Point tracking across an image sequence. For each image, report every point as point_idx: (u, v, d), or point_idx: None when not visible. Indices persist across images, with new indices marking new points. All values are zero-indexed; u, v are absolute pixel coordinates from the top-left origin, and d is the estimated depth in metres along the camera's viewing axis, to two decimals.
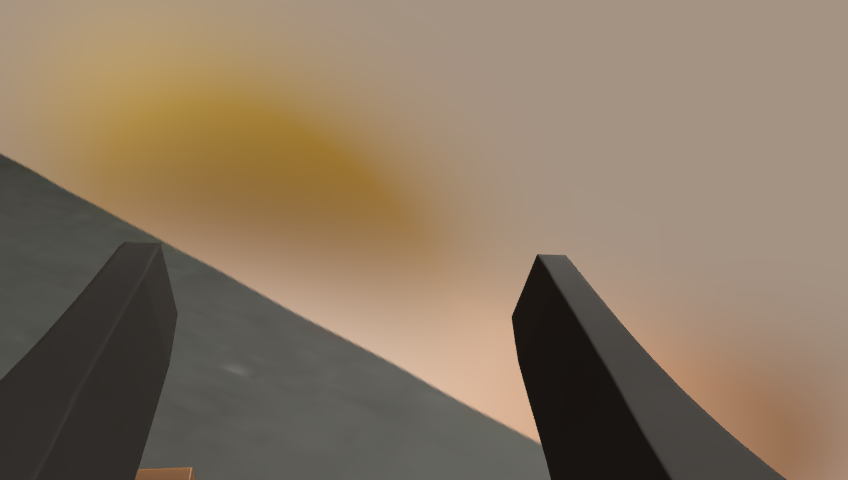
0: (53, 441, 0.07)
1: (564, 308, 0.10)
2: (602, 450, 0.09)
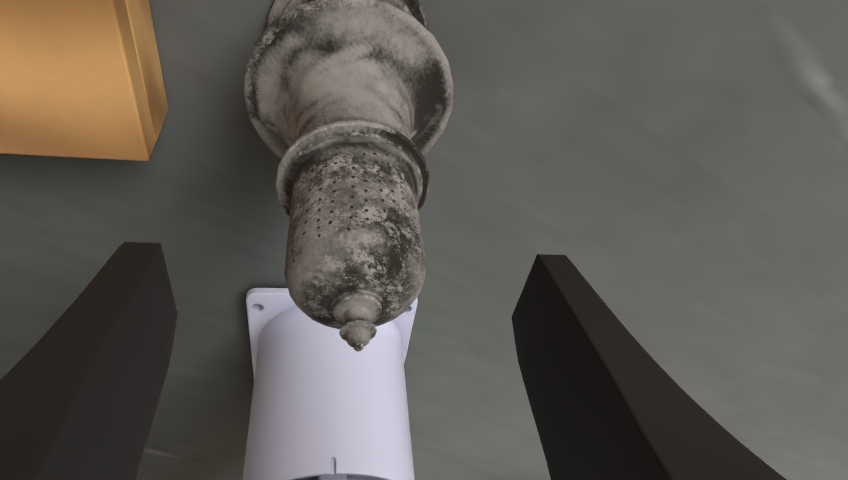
0: (53, 441, 0.07)
1: (563, 308, 0.10)
2: (602, 450, 0.09)
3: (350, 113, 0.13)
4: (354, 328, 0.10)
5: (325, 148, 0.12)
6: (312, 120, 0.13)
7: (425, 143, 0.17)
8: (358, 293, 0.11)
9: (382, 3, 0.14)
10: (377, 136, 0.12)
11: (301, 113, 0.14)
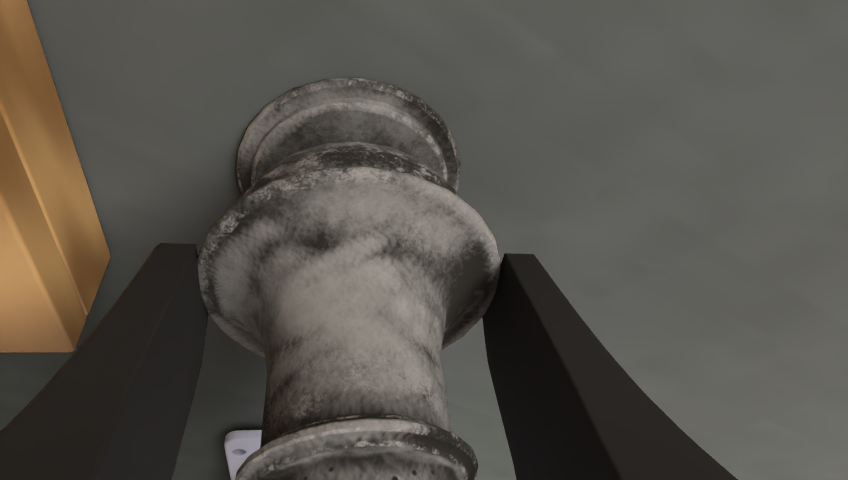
0: (107, 439, 0.07)
1: (528, 308, 0.10)
2: (562, 451, 0.09)
3: (353, 381, 0.08)
4: None
5: (312, 464, 0.07)
6: (292, 383, 0.08)
7: (457, 331, 0.12)
8: None
9: (402, 176, 0.09)
10: (399, 443, 0.07)
11: (278, 350, 0.09)
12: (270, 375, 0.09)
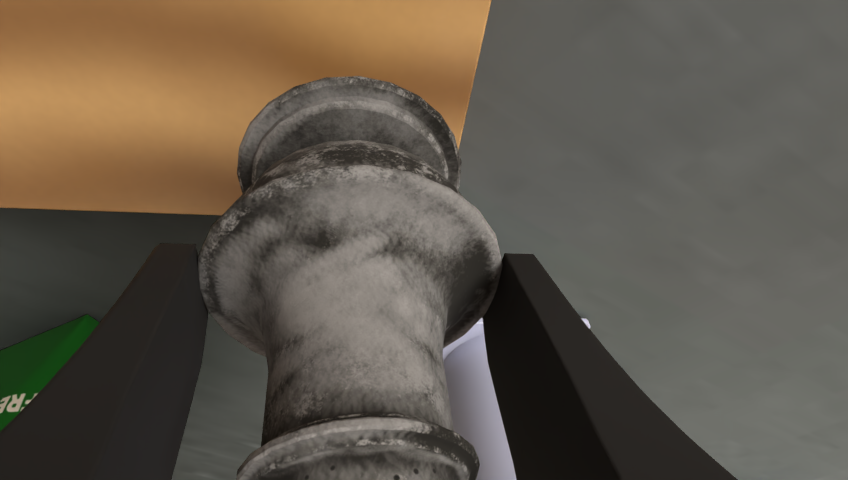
0: (107, 439, 0.07)
1: (528, 307, 0.10)
2: (561, 451, 0.09)
3: (354, 380, 0.08)
4: None
5: (314, 463, 0.07)
6: (293, 382, 0.08)
7: (458, 330, 0.12)
8: None
9: (403, 174, 0.09)
10: (400, 442, 0.07)
11: (279, 348, 0.09)
12: (271, 374, 0.09)
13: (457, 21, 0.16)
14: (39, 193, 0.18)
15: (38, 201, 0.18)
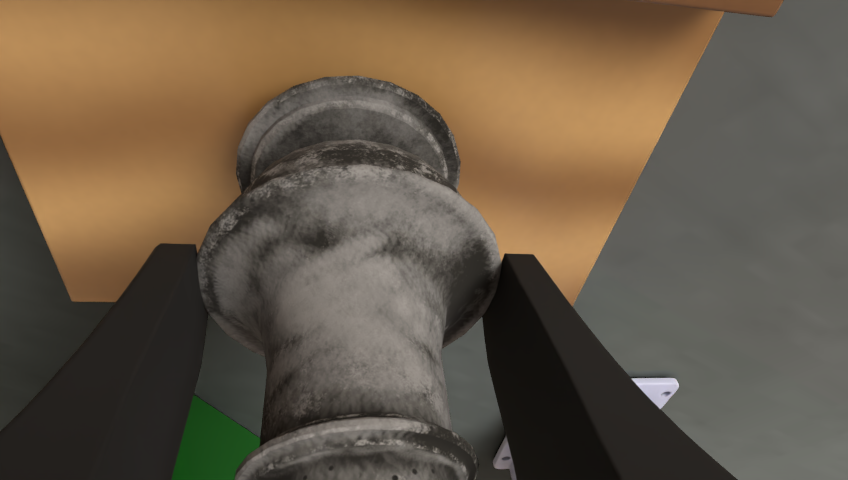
0: (107, 439, 0.07)
1: (527, 307, 0.10)
2: (561, 451, 0.09)
3: (353, 380, 0.08)
4: None
5: (311, 463, 0.07)
6: (292, 381, 0.08)
7: (457, 329, 0.12)
8: None
9: (402, 174, 0.09)
10: (399, 442, 0.07)
11: (277, 348, 0.09)
12: (269, 374, 0.09)
13: (636, 125, 0.15)
14: None
15: None
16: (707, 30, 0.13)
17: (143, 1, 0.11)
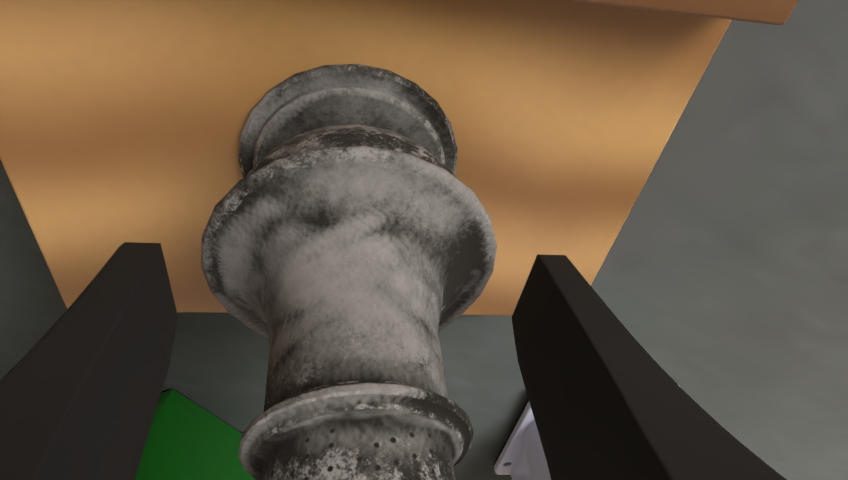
0: (53, 441, 0.07)
1: (563, 308, 0.10)
2: (602, 450, 0.09)
3: (353, 350, 0.08)
4: None
5: (314, 427, 0.08)
6: (295, 352, 0.09)
7: (454, 311, 0.13)
8: None
9: (400, 155, 0.10)
10: (396, 407, 0.08)
11: (280, 323, 0.10)
12: (273, 347, 0.09)
13: (642, 133, 0.14)
14: None
15: None
16: (715, 37, 0.13)
17: (139, 9, 0.11)
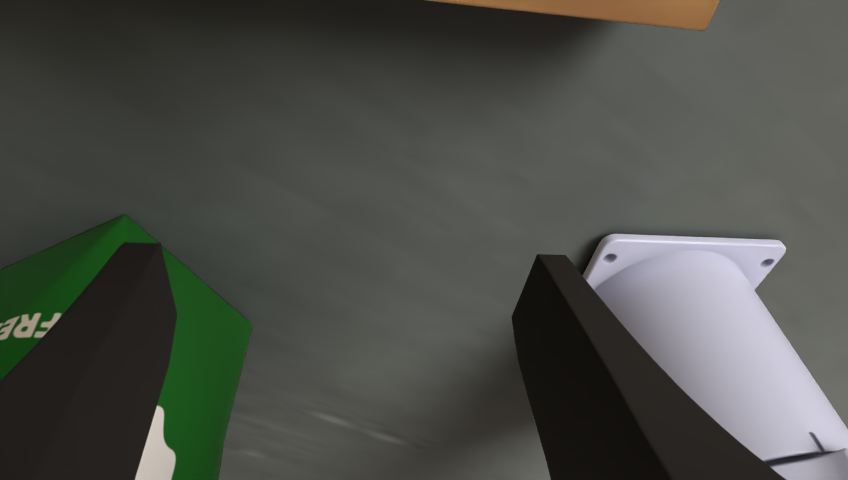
0: (53, 441, 0.07)
1: (564, 308, 0.10)
2: (602, 450, 0.09)
3: None
4: None
5: None
6: None
7: None
8: None
9: None
10: None
11: None
12: None
13: None
14: None
15: None
16: None
17: None
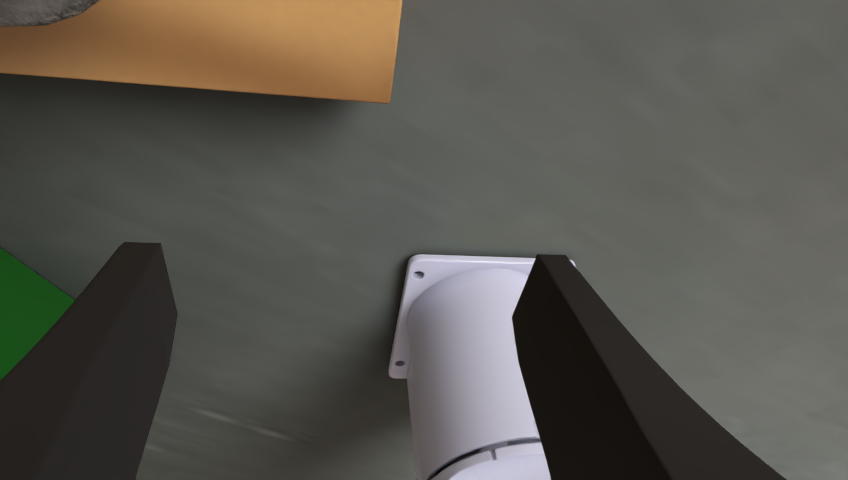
0: (53, 441, 0.07)
1: (564, 308, 0.10)
2: (602, 450, 0.09)
3: None
4: None
5: None
6: None
7: None
8: None
9: None
10: None
11: None
12: None
13: None
14: None
15: None
16: None
17: None
